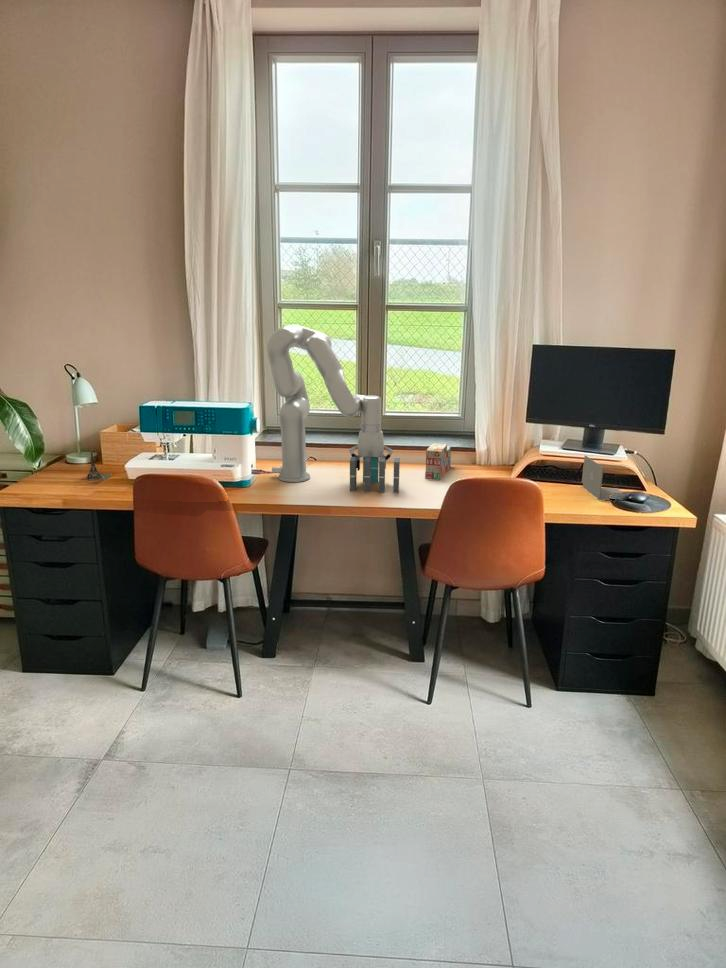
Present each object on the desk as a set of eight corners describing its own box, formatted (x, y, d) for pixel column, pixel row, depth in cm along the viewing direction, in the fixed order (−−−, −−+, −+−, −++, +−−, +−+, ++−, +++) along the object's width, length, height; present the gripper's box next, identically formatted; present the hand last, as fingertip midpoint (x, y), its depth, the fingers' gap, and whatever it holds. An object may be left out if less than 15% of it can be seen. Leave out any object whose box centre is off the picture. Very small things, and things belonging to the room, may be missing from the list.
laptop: (632, 501, 243) (636, 467, 239) (598, 501, 243) (602, 467, 239) (612, 486, 260) (615, 454, 257) (580, 487, 260) (584, 454, 256)
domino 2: (364, 491, 251) (364, 461, 247) (365, 487, 257) (365, 457, 253) (369, 492, 251) (369, 461, 247) (370, 487, 257) (370, 457, 253)
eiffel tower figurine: (96, 485, 258) (92, 452, 254) (73, 484, 260) (68, 451, 256) (117, 474, 272) (113, 443, 268) (94, 473, 274) (90, 442, 270)
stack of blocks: (436, 465, 288) (437, 437, 284) (450, 466, 286) (451, 439, 282) (424, 479, 268) (426, 449, 264) (440, 480, 266) (441, 450, 263)
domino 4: (393, 492, 250) (393, 462, 247) (393, 488, 256) (394, 458, 252) (398, 492, 250) (399, 462, 246) (399, 488, 256) (399, 458, 252)
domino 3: (378, 492, 251) (379, 461, 247) (379, 487, 256) (380, 457, 253) (384, 492, 250) (384, 461, 247) (384, 487, 256) (385, 457, 253)
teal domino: (378, 482, 262) (378, 453, 258) (362, 482, 263) (363, 453, 259) (378, 481, 264) (378, 452, 260) (363, 480, 264) (363, 451, 261)
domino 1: (349, 491, 251) (349, 460, 248) (351, 486, 257) (351, 456, 254) (355, 491, 251) (355, 461, 248) (356, 486, 257) (356, 456, 253)
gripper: (348, 429, 254) (348, 472, 259) (393, 430, 253) (392, 473, 258) (350, 425, 261) (350, 467, 266) (393, 426, 260) (393, 468, 265)
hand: (370, 470), depth 262 cm, fingers open, 9 cm apart
